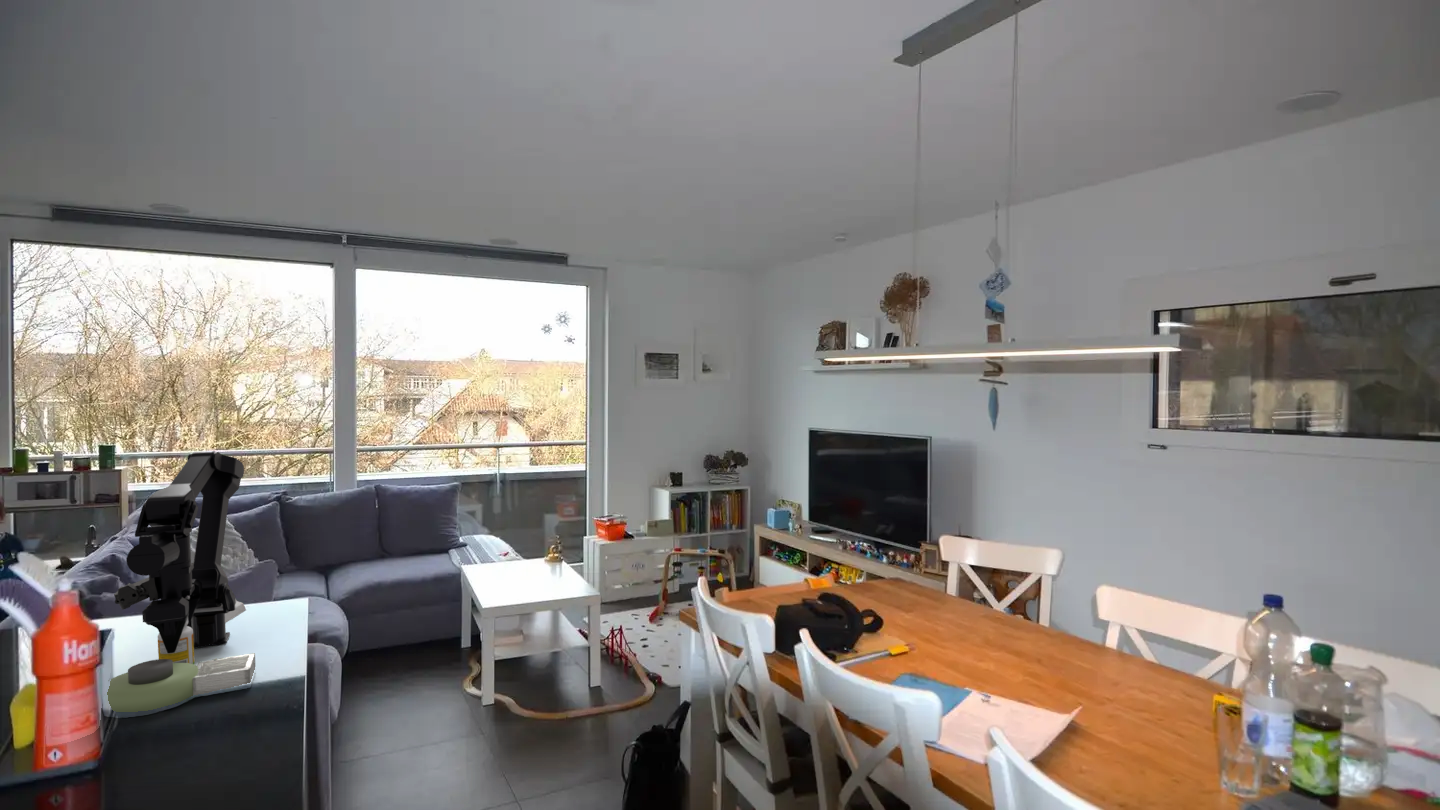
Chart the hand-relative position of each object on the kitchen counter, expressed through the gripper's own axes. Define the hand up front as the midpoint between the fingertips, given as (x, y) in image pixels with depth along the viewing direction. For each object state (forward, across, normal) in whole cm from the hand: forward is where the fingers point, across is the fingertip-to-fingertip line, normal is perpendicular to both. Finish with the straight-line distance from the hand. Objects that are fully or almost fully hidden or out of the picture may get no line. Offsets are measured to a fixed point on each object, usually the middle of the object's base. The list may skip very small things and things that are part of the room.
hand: (176, 644), depth 140 cm
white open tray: (+5, +13, +9) cm, 17 cm away
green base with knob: (+5, +15, -1) cm, 16 cm away
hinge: (+5, -31, +1) cm, 31 cm away
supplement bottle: (+5, 0, 0) cm, 5 cm away
